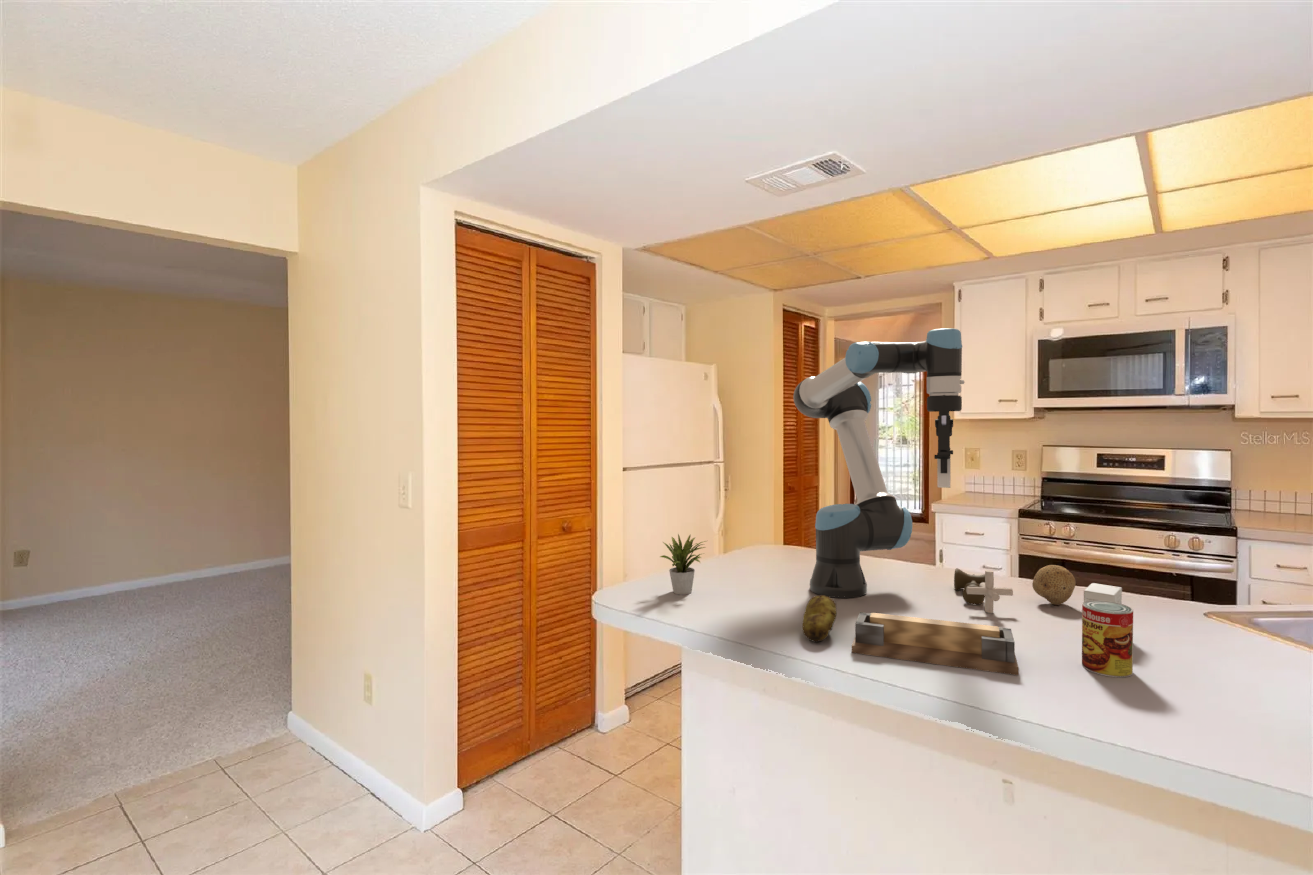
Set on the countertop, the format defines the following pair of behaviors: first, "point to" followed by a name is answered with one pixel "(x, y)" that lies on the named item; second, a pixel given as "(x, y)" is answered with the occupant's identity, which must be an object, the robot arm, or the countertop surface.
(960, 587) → the kendama
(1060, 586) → the natural sponge
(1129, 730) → the countertop surface
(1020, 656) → the countertop surface
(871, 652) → the end cap board
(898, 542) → the robot arm
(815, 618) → the potato
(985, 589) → the pipe connector
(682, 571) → the house plant
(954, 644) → the oak slat
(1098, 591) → the small box
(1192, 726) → the countertop surface
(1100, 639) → the canned food
